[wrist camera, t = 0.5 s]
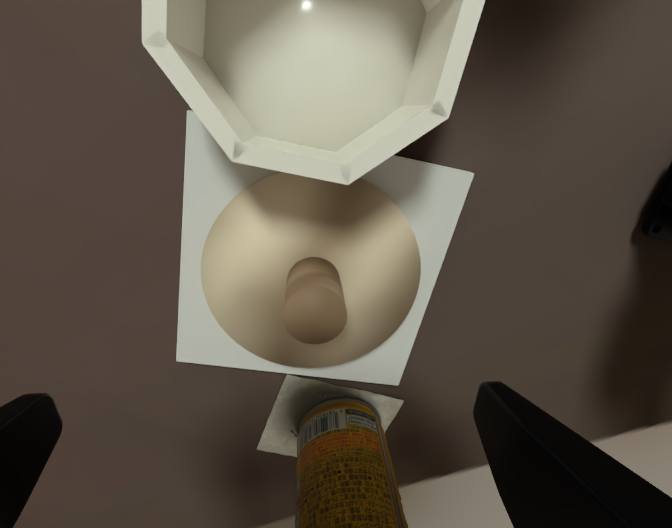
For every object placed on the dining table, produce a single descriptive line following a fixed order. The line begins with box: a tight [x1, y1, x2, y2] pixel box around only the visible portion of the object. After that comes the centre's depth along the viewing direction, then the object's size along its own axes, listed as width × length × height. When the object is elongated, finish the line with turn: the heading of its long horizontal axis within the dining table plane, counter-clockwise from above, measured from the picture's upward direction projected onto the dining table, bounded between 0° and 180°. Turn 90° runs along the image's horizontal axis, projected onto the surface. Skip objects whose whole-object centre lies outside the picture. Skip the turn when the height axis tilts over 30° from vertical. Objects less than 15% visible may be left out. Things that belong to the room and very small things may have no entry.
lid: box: [201, 172, 421, 368], centre depth 17 cm, size 12×12×4 cm
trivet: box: [176, 110, 474, 386], centre depth 19 cm, size 14×14×1 cm
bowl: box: [142, 0, 485, 185], centre depth 13 cm, size 10×10×5 cm
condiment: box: [257, 374, 408, 528], centre depth 19 cm, size 7×8×12 cm
